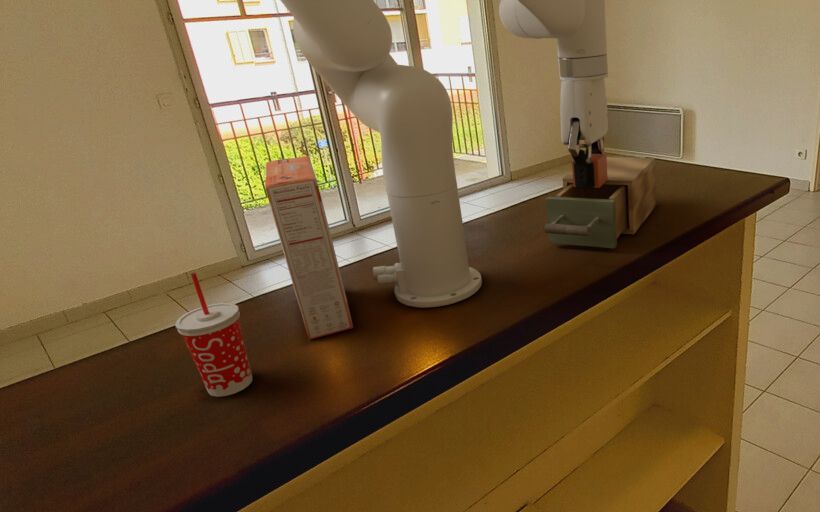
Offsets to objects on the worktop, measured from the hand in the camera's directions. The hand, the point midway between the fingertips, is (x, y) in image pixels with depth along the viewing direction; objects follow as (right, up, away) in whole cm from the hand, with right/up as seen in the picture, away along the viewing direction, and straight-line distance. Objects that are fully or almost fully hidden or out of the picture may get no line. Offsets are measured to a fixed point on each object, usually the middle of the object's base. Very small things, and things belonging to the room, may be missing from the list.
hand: (590, 181), depth 101 cm
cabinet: (+5, -5, +13) cm, 15 cm away
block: (0, 0, 0) cm, 0 cm away
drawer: (0, -9, +2) cm, 9 cm away
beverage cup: (-42, -27, -31) cm, 59 cm away
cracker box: (-37, -21, -16) cm, 45 cm away
